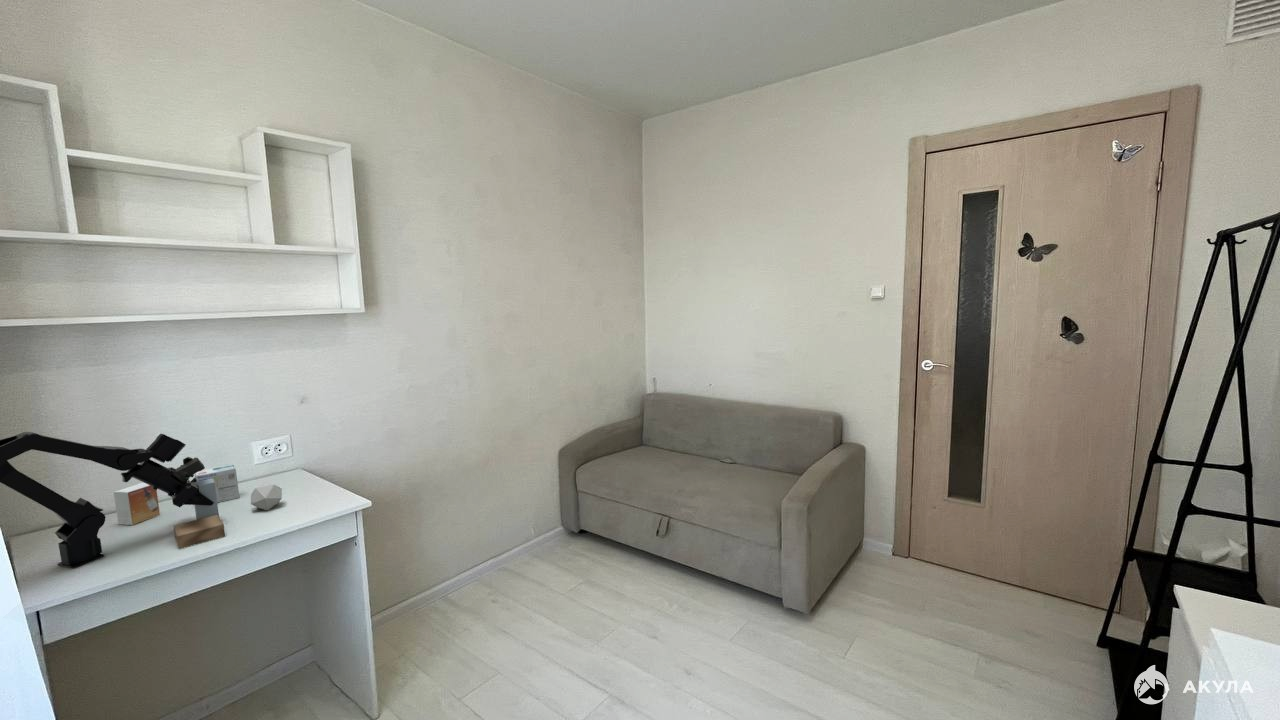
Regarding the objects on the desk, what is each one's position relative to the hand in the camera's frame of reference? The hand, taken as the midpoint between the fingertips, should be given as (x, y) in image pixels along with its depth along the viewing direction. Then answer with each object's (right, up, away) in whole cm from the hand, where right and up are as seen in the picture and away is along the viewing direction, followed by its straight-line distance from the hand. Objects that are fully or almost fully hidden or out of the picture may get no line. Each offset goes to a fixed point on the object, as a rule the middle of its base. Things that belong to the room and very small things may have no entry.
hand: (211, 501), depth 158 cm
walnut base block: (+4, -8, -9) cm, 13 cm away
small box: (-26, -7, +4) cm, 27 cm away
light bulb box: (-13, -5, +19) cm, 23 cm away
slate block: (-1, -7, 0) cm, 7 cm away
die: (+9, -5, +12) cm, 15 cm away
